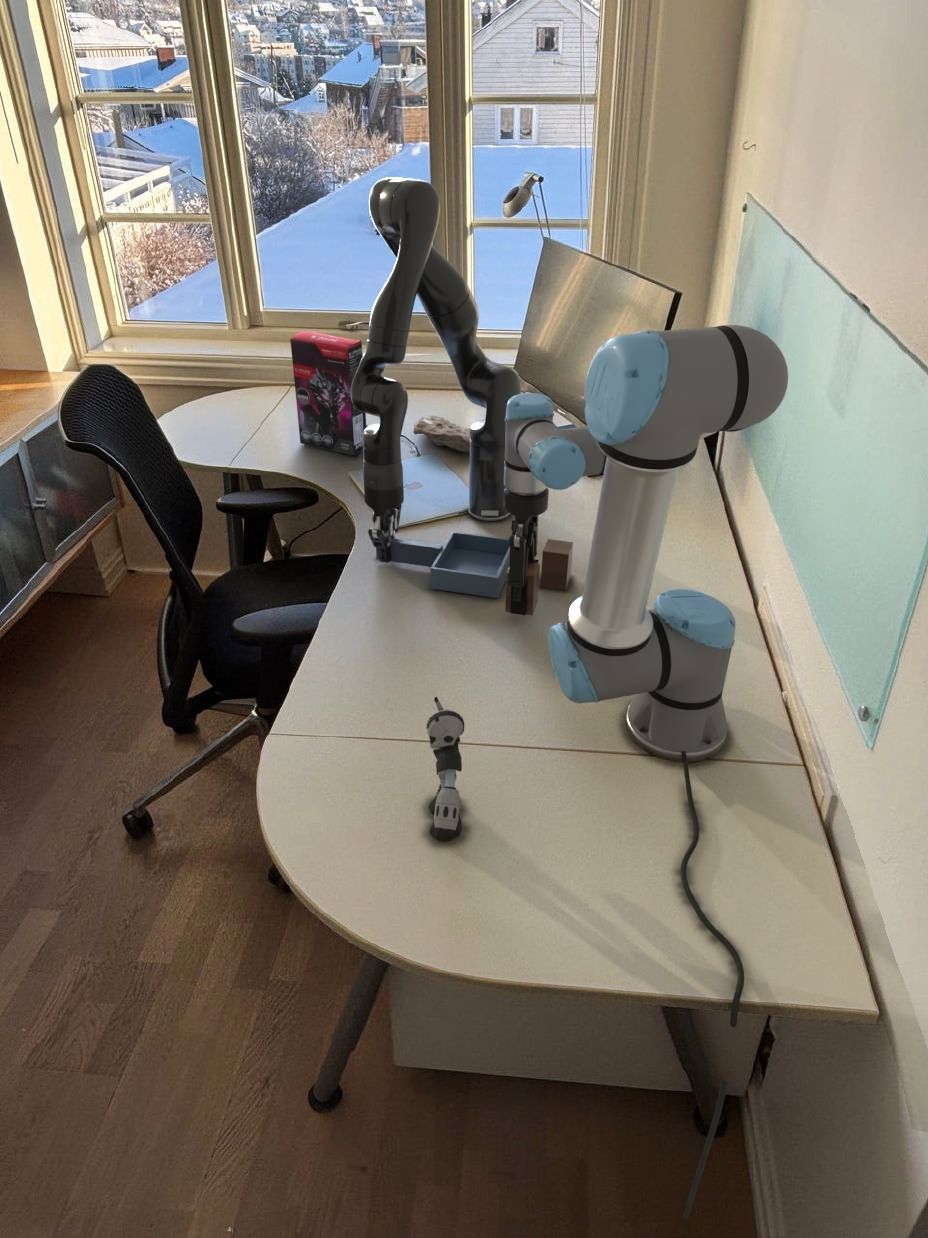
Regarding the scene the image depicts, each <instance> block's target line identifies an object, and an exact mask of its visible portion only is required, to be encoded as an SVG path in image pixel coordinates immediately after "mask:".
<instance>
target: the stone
mask: <svg viewBox="0 0 928 1238" xmlns="http://www.w3.org/2000/svg"><path fill="white" fill-rule="evenodd" d="M413 427H414V428H413V430H412V431H413V434H414V435H416V436H417V435H424V436H426V438H427V439H428V440H431V441H433V442H434V443H435V445H436V446H440V447H443V446H446V447H448V448H450V449H453V450H457V451H459V452H464V453H470V427H463V426H460V425H457V424H456V423H452V422H451V421H450V420H447V419H445V418H444V417H442V416H436V415H429V416H422V417H420V418H419V419H418V420H417V421H415V422H414V424H413Z"/></svg>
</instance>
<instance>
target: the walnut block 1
mask: <svg viewBox="0 0 928 1238" xmlns="http://www.w3.org/2000/svg"><path fill="white" fill-rule="evenodd" d="M540 569H541V563H539V562H538V563H532V562H528V563H527V574H526V582H527V600H526V614H525V615H524V616H533V615H534V613H535V610H536V608H537V605H538V603H539V589H540V573H541V572H540V571H541V570H540ZM508 579H509V569H508V571H507V573H506V581H505V603H504V605H505V607H504V608H505V609H504V612H505V613H510V606H511V586H510V585H509V583H507V580H508Z"/></svg>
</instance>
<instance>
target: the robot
mask: <svg viewBox="0 0 928 1238" xmlns="http://www.w3.org/2000/svg"><path fill="white" fill-rule="evenodd" d="M433 701H434V703H435V706H436V708H437V712H434V713H433V714H432V715H430V717H429V718H428V720H427V722H426V724H425V727H426V734H427V735H428V738H429V747H430V749H432V753H433V755H434V757H435V759H436V762H435V769H436V775H437V777H438V778H439V783H440V784H439V785H438V789H437V792H436V795H434V797H433V798H432V799H431V801H430V802H429V804H428V809H429V811H430V814H431V815H432V816H433V821H432V824H431V826H430V829H429V832H428V834H429V835H430V836H431V837H432V838H433V839H434V840H435V841H439V842H449V841H452V840H454V839H457V838H459V837H460V835H461V832H462V831H463V827H462V826H463V825H462V817H461V815H460V812H461V810H462V808H461V797H460V793H459V792H460V791H459V790H458V789H457V787H456V781H457V772H462V770H463V766H462V765H463V761H462V755H461V752H460V747H459V743H460V742H461V737H460V736H461V735H463V733H464V732H465V720H464V717H462V715H461V714H460V713H458V712H457V711H454V710H451V709H445V708H444V707H443V705H442V703H441V702H440V699H439V698H438V697H437V696H435V697H434V698H433Z"/></svg>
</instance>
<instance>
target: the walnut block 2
mask: <svg viewBox="0 0 928 1238" xmlns="http://www.w3.org/2000/svg"><path fill="white" fill-rule="evenodd" d="M573 549H574V542H573V541H567V540H566V541H565V540H559V539H551V538H547V540H546V541H545V544H544V547H543V549H542V553H541V554H542V555H541V567H540V569H541V570H540V571H541V572H540V583H539V588H545V589H550V590H557V591H558V590H559V591H564V592H565V591H566V592H567V589H568V586H569V583H570V579H571V575H572V574H571V573H572V561H573V551H574V550H573Z"/></svg>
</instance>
